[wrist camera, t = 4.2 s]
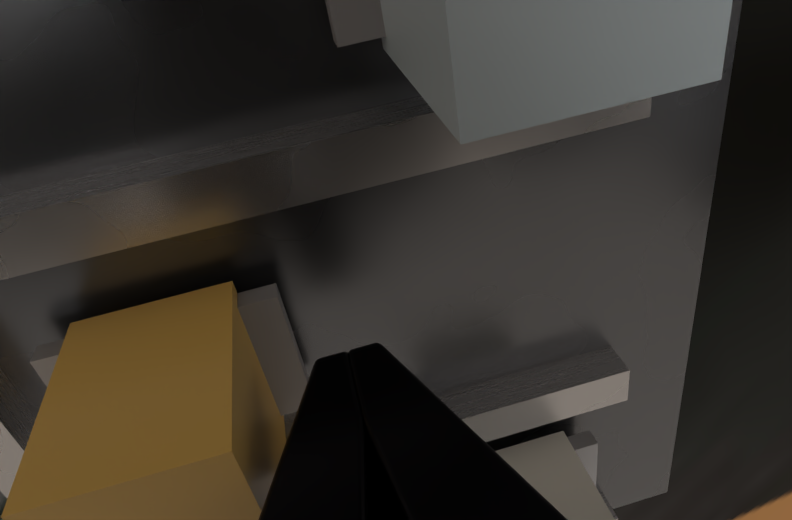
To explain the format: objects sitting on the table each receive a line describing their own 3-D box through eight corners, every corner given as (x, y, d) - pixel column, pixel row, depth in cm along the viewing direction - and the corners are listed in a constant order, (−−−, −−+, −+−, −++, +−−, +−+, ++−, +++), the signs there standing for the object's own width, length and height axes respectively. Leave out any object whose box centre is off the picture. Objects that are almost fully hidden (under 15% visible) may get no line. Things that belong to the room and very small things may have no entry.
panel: (706, -419, 6) (926, -550, 4) (629, 438, 14) (695, 533, 12) (-554, -208, 5) (-1041, -250, 3) (116, 593, 13) (95, 726, 11)
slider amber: (271, 271, 8) (287, 435, 5) (316, 400, 9) (343, 575, 7) (27, 334, 7) (-60, 535, 5) (112, 458, 9) (72, 658, 7)
